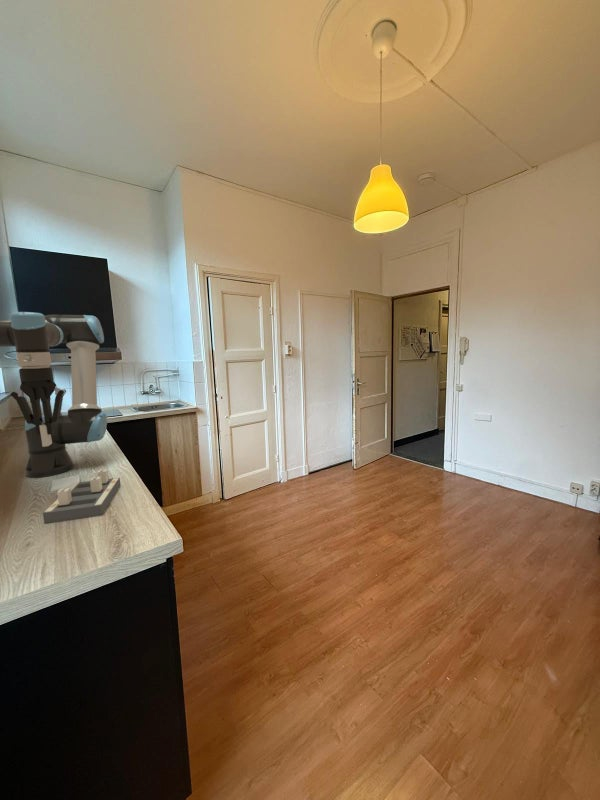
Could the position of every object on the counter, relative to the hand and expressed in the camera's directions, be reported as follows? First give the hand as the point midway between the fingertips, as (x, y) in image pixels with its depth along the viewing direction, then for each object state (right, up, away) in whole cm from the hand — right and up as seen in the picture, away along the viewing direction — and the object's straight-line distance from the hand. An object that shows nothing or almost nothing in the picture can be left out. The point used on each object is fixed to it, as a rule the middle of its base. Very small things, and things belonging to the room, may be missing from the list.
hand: (47, 444), depth 96 cm
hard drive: (-7, -18, +17) cm, 25 cm away
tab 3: (+11, -14, +10) cm, 20 cm away
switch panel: (+10, -18, +3) cm, 21 cm away
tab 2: (+13, -15, +3) cm, 20 cm away
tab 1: (+9, -16, -5) cm, 19 cm away
